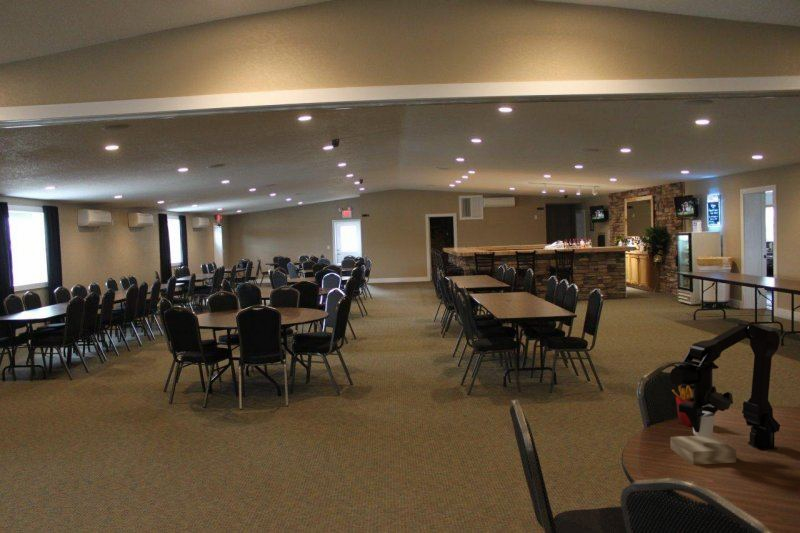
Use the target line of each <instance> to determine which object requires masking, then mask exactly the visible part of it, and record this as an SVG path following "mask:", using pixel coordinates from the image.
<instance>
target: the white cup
mask: <svg viewBox="0 0 800 533" xmlns="http://www.w3.org/2000/svg"><path fill="white" fill-rule="evenodd" d="M702 413H705V415H703V416H702V417H701V422H700V430H699V432H695V430H694V428H693V427H692V434H693V436H701V437H711V436H713V433H714V424H715V423H714V422H715V415H716V414H715V415H714V413H712V412H709V411H702Z"/></svg>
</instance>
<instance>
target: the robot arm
mask: <svg viewBox="0 0 800 533" xmlns="http://www.w3.org/2000/svg"><path fill="white" fill-rule="evenodd" d="M780 336H781V335H779V333H778V332H777V331H775V330H771V329H765V328H762V327H759V326H756V325H754V324H752V323H747V322H739V323H737V324H736V325H735V326H734V327H732V328H730V329H727V330H726V331H724V332H722V333H720V334H719V335H717V336H716V337H714V338H711V339H708V340H700V341H698V342H695V343H692V344H691V345H690V347H689V349H688V352H687V353H686V355H685V357H684V358H683V360H682V361H681V362H682V363H681V364H680V363H675V364H674V367H673V368H672V369H671V370H670V371H671V372H670V373H669V377H670V381H671V383H672V384H673V385H675V386H677V387H679V386H681V387H682V386H689V387H690V388H691V389H692V391H693V397H691V398H690V401H693V402H694V403H693V402H688V401H686V402H683V403H680V404H679V405H678V411H679V412H683V413H685V414H686V415H687V417H688V419H689V420H690V422H691V424H692V426H691V427H692V429H693V428H694V430H695V432H699V430H700V422H701V417H702V416H703V415H705V413H702V411H709V412H712V413H714V415H716V413H717V412H718V411H719V412H720V411H721V412H725V411H726V410H729V409H730V407H731V405H732V404H734V401H733V393H732V392H730V391H726V392H724V393H722V392H718V391H717V388H716V386H715V385H713V383H714V382H713V381H714V380H713V378H714V377H713V370H715V369H716V370H717V369H719V366H718V365H717V364H716V363H715V361H717V359H719V358H720V357H721V354H722V353H723V352H724V351H725V350H727V349H729V348H731V347H733V346H734V345H736V344H739V343H741V341H744V340H745V339H748V340H749V345H750V346H749V347H750V349H751V351H752V352H753V355H754V357H753V358H754V359H753V370H752V378H751V380H752V381H751V392H750V397H749V399H748V400H747V401H745V400H744V401H743V402H742V411H741V413H742V416H743V419H744V420H745V423H746V426H748V427H750V431H749V441H747V444H748V445H750V446H752V447H754V448H756V449H757V450H760V451H761V450H778V449H779V447H778V446H776V445H775V434H776V433H777V432H779V431H780V428H781V424H780V423H779V422H778V421H777V420H776V419H775V418H774V409H773V406H772V405H771V403H770V401H769V393H770V381H771V372H772V371H771V369H772V358H773V357H774V355H775V354H776V352H777V351H778V350H779V346H780V341H781V337H780Z"/></svg>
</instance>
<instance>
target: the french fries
mask: <svg viewBox="0 0 800 533" xmlns="http://www.w3.org/2000/svg"><path fill="white" fill-rule="evenodd" d="M671 392H672V393H673V394H674V395H675V403H676V412H677V421H678V424H681V425H683V426H686V427H693V426H692V424H691V422H690V420H689V419H688V417H687V415H686V414H685V413H683V412H679V411H678V405H679V404H680V403H683V402H686V401H688V402H693V401H690V398H691V397H693V389H691V388H690V385H686V388H685V387H682V386H678V392H679V394H680V395H679V394H678V393H677V392H676V391H675V389H672V390H671ZM693 403H694V402H693Z"/></svg>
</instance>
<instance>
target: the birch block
mask: <svg viewBox="0 0 800 533" xmlns="http://www.w3.org/2000/svg"><path fill="white" fill-rule="evenodd" d="M669 439H670V448H669V449H670V450H672V451H673V452H674V453H675V454H677V455H678V456H680V457H682V458H683V459H684V460H686V461H687V462H689V463H690V464H692V465H695V466H696V465H710V464H711V465H712V464H728V463H731V464H732V463H734V464H735V463H737V449H736V448H734V447H732V446H730V445H729V444H727V443H725V442H723V441H722V440H720V439H718V438H717V437H715V436H713V435H712V436H711V437H701V436H697V435H685V436H684V435H683V436H682V435H681V436H670V438H669Z"/></svg>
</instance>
